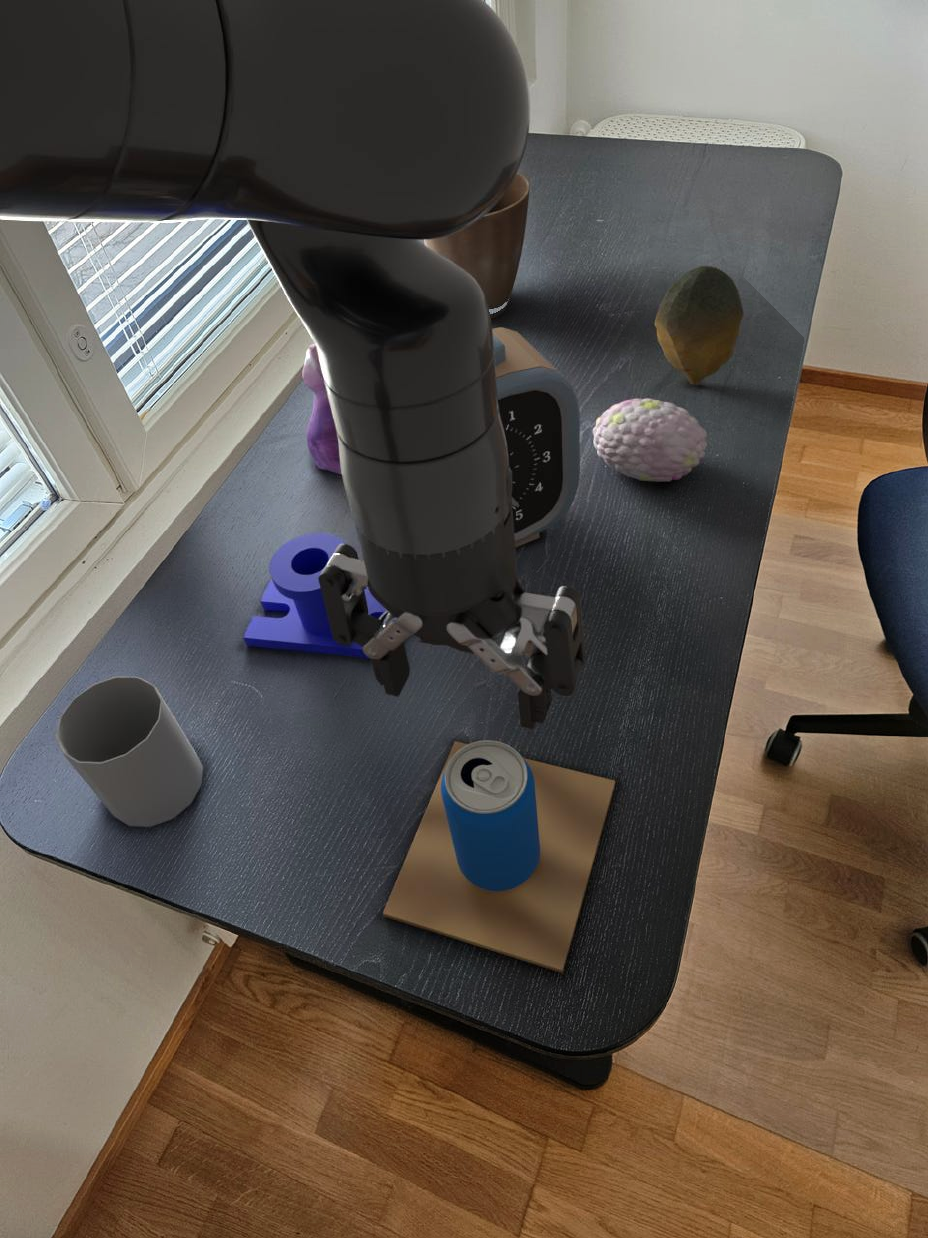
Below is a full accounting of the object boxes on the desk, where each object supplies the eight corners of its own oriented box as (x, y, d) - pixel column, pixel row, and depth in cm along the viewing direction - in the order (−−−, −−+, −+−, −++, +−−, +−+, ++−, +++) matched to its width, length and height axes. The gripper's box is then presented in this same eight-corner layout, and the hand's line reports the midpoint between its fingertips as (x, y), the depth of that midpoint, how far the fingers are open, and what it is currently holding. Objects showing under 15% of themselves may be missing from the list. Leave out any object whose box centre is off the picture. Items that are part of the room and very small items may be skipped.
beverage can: (488, 804, 72) (474, 720, 63) (556, 844, 69) (552, 762, 60) (441, 867, 69) (419, 788, 60) (510, 912, 66) (498, 835, 57)
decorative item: (705, 472, 89) (660, 382, 88) (613, 513, 96) (569, 431, 94) (726, 448, 96) (685, 364, 95) (639, 488, 103) (599, 410, 101)
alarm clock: (402, 601, 89) (361, 424, 72) (368, 544, 95) (323, 368, 78) (582, 527, 93) (581, 344, 77) (539, 477, 99) (530, 297, 83)
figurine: (335, 418, 110) (306, 307, 99) (401, 440, 106) (379, 327, 95) (286, 463, 105) (250, 351, 94) (354, 487, 101) (325, 373, 90)
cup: (170, 727, 81) (128, 659, 74) (221, 778, 77) (182, 712, 70) (90, 788, 78) (37, 724, 70) (139, 846, 74) (88, 783, 66)
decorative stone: (735, 373, 108) (752, 254, 96) (730, 403, 104) (747, 283, 93) (655, 367, 110) (662, 251, 99) (647, 396, 107) (654, 278, 95)
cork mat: (562, 973, 63) (562, 970, 63) (383, 916, 67) (382, 913, 67) (615, 784, 73) (615, 780, 72) (455, 744, 77) (455, 740, 76)
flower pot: (445, 276, 130) (431, 163, 118) (545, 281, 127) (541, 165, 115) (414, 332, 121) (396, 216, 109) (521, 339, 118) (513, 219, 106)
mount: (246, 645, 87) (219, 584, 80) (272, 589, 92) (248, 527, 85) (393, 660, 84) (377, 598, 77) (412, 601, 88) (398, 538, 82)
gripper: (258, 522, 41) (331, 723, 53) (555, 577, 37) (562, 782, 49) (328, 425, 46) (381, 631, 58) (600, 465, 41) (596, 678, 53)
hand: (464, 700), depth 53 cm, fingers open, 8 cm apart
